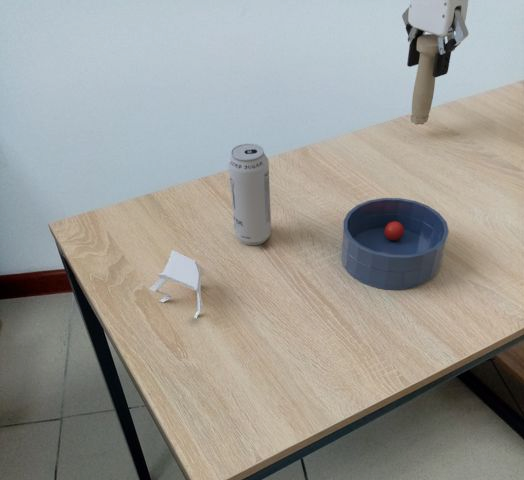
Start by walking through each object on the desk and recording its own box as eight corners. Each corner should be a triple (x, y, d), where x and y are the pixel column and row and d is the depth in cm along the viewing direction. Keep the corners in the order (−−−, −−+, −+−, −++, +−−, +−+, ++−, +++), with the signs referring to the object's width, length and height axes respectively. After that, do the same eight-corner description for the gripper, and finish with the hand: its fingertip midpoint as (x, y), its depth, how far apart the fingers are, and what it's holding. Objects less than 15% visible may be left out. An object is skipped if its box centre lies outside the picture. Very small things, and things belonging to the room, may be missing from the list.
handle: (407, 129, 105) (418, 46, 94) (405, 115, 110) (416, 34, 99) (432, 129, 105) (446, 45, 94) (429, 115, 109) (443, 33, 98)
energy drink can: (234, 227, 91) (226, 143, 80) (269, 224, 91) (265, 140, 80) (236, 249, 87) (228, 163, 75) (273, 245, 87) (270, 159, 76)
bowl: (396, 219, 90) (401, 187, 86) (461, 266, 81) (470, 233, 76) (322, 250, 85) (323, 218, 81) (382, 303, 76) (387, 270, 72)
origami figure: (141, 292, 80) (134, 266, 77) (186, 268, 84) (181, 242, 80) (187, 333, 74) (182, 307, 70) (234, 305, 77) (231, 279, 74)
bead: (394, 231, 86) (396, 215, 84) (406, 240, 85) (409, 224, 82) (379, 237, 86) (381, 221, 83) (391, 246, 84) (394, 230, 82)
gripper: (502, -43, 83) (475, 78, 96) (425, -58, 93) (411, 53, 107) (466, -35, 81) (444, 89, 94) (392, -51, 91) (381, 62, 104)
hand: (426, 69), depth 100 cm, fingers closed on handle, 6 cm apart
